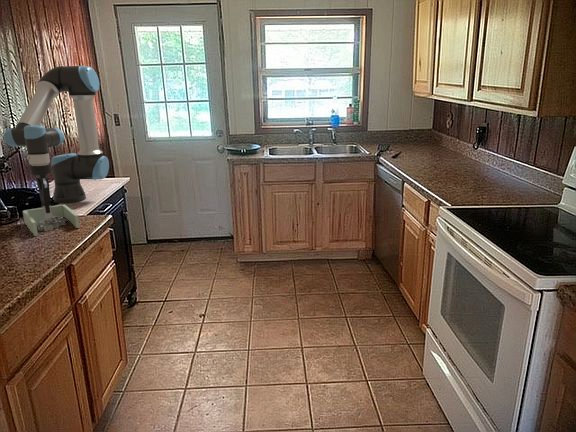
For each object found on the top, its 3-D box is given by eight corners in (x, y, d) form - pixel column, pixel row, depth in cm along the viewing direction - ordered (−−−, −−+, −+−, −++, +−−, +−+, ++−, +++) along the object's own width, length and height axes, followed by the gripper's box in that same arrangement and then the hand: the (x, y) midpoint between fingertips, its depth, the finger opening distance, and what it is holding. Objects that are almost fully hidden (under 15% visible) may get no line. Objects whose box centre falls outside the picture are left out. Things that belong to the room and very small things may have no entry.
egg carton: (48, 232, 178) (46, 222, 177) (34, 230, 180) (32, 220, 179) (69, 225, 187) (68, 215, 186) (56, 223, 190) (54, 213, 189)
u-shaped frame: (24, 223, 189) (22, 210, 188) (66, 216, 199) (64, 204, 198) (34, 236, 172) (32, 222, 171) (79, 228, 182) (78, 215, 180)
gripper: (26, 163, 184) (35, 218, 191) (32, 167, 174) (41, 225, 181) (46, 161, 189) (55, 215, 195) (53, 165, 179) (61, 221, 185)
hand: (48, 219), depth 188 cm, fingers closed
